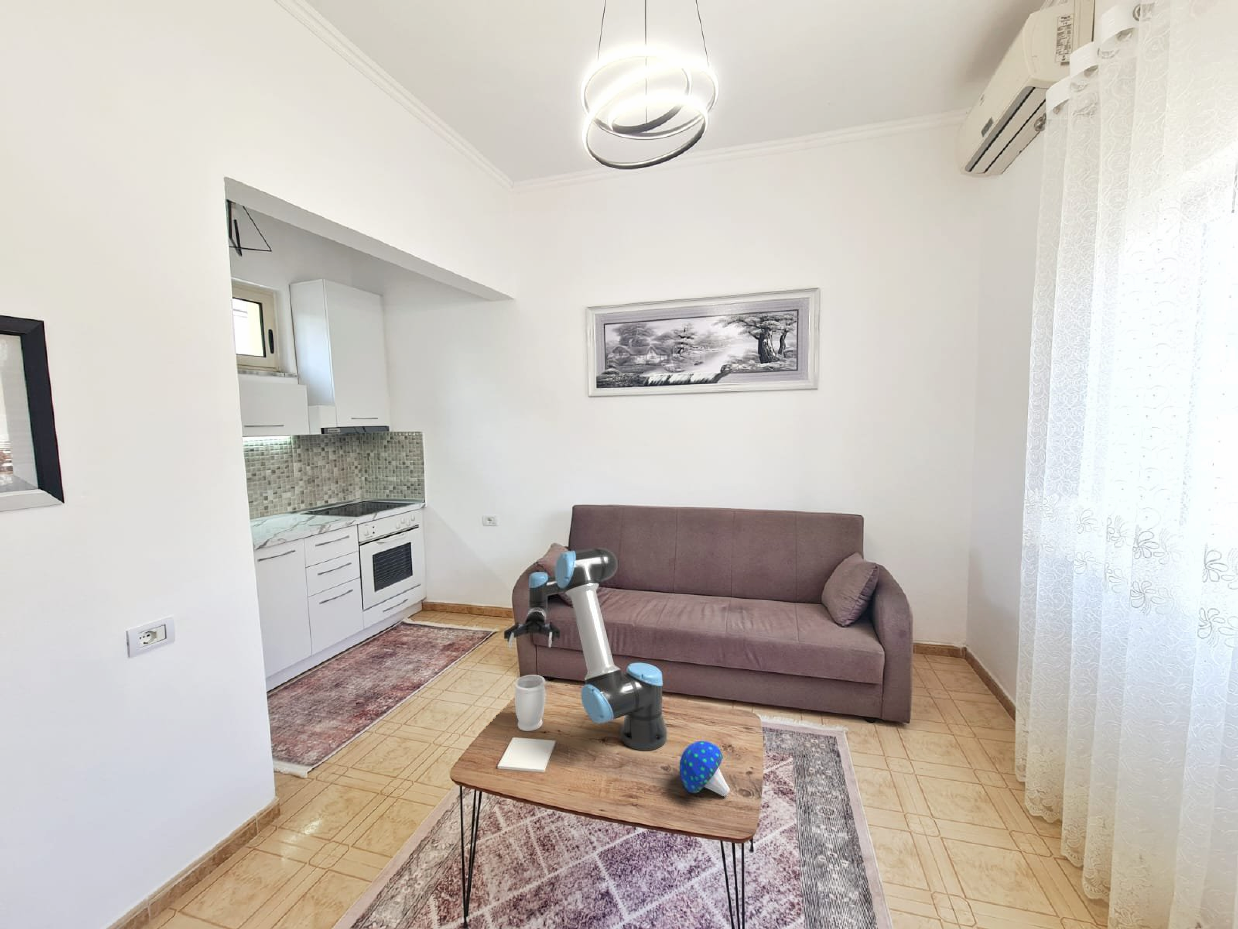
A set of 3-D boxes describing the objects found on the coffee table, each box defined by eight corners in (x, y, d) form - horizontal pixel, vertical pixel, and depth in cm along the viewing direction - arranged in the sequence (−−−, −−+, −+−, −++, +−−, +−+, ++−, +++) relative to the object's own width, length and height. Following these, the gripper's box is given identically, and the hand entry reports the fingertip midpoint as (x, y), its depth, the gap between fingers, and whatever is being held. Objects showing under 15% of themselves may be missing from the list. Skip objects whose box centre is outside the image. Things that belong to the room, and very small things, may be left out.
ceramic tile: (555, 743, 157) (555, 740, 157) (543, 772, 143) (543, 770, 143) (513, 739, 159) (513, 737, 159) (497, 768, 145) (497, 766, 145)
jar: (538, 735, 161) (538, 691, 160) (509, 731, 163) (509, 687, 163) (549, 717, 172) (549, 676, 171) (522, 714, 174) (521, 672, 173)
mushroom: (743, 786, 127) (698, 740, 132) (708, 826, 128) (664, 779, 133) (744, 763, 141) (703, 722, 145) (712, 799, 141) (673, 758, 146)
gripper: (567, 629, 193) (565, 653, 172) (503, 630, 191) (493, 655, 170) (567, 610, 192) (566, 632, 171) (503, 611, 190) (493, 633, 169)
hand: (530, 643), depth 170 cm, fingers open, 13 cm apart
